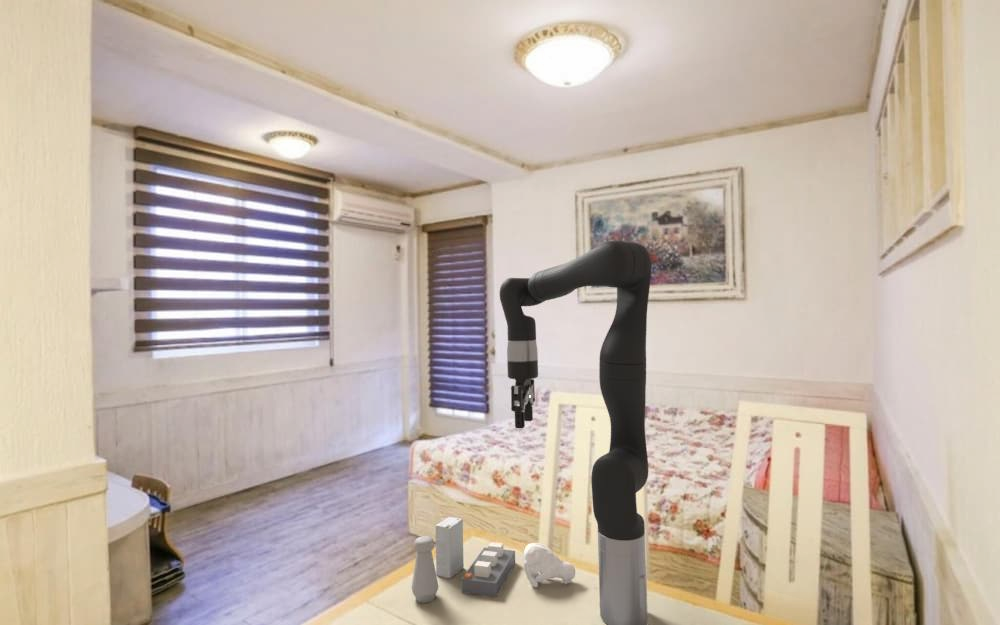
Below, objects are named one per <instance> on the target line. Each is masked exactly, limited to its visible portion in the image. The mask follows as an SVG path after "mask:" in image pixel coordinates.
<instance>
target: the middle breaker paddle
mask: <svg viewBox="0 0 1000 625" xmlns="http://www.w3.org/2000/svg"><path fill="white" fill-rule="evenodd" d="M481 557H482V561H484V562H491V566H493V567H495V566H496V564H497V562H498V559H497V552H492V551H484V552H483V553H482V555H481Z"/></svg>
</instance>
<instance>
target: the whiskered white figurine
mask: <svg viewBox="0 0 1000 625" xmlns="http://www.w3.org/2000/svg"><path fill="white" fill-rule="evenodd" d="M522 560H523V569H524V573H525V575H526V577H527V578H526V579H527V580H528V581H529V583H530V584H531V586H532V587H534V588H538V587H539V583H540V582H544V581H547V580H549V579H555V578H557V579H561V580H562V582H563V583H564V586H565V585H567V584H570V583H571V581H573V579H575V577H576V569H575V566H574V565H573V564H572V563H570V562H568V561H563V560H562V559H561V558H560V557H559V556H558V555H557V554H556V553H554V551H553V550H552V549H550V548H549V547H547V546H546V545H545V544H543V543H539V542H532V543H529V544H526V546H525V548H524V551H523V559H522Z"/></svg>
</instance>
